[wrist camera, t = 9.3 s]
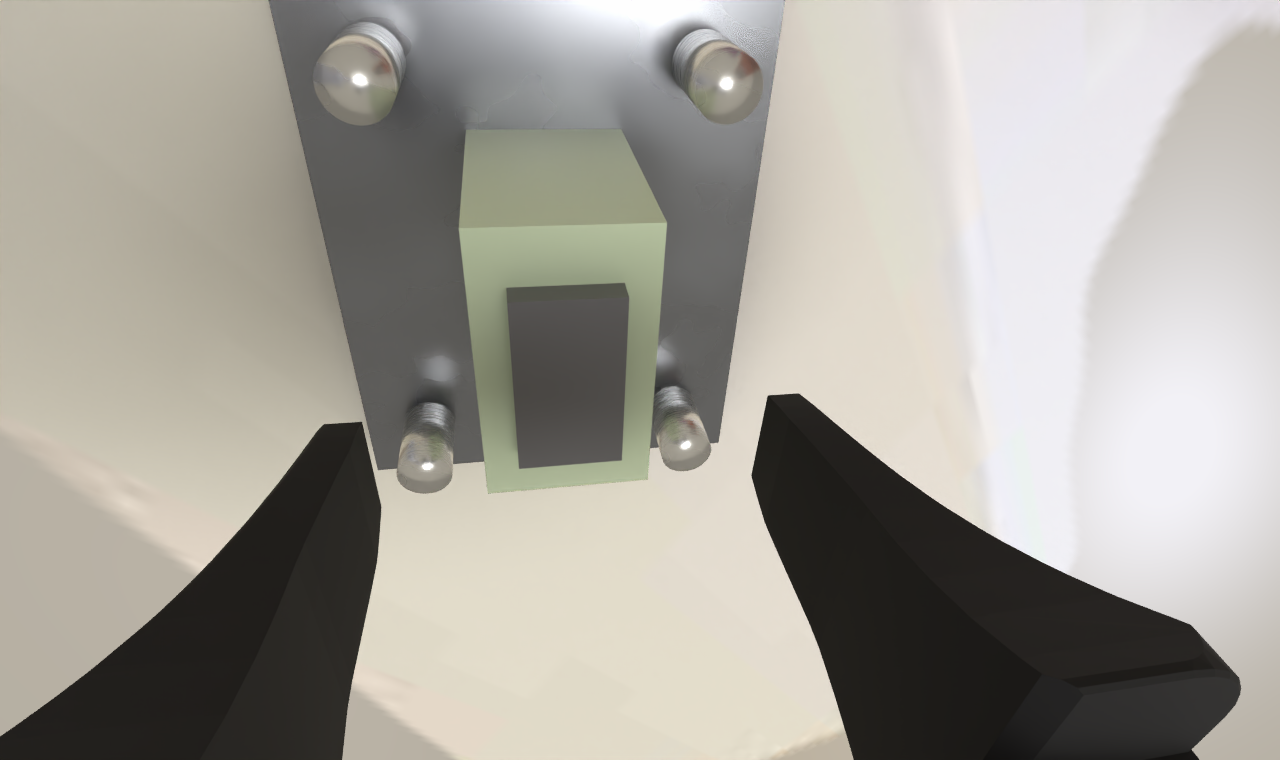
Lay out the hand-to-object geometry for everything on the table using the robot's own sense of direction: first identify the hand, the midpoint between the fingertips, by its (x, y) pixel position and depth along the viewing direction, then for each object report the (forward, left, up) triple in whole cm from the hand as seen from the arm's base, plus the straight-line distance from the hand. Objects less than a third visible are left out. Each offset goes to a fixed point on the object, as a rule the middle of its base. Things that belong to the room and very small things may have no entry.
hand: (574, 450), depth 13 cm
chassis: (0, -1, -10) cm, 10 cm away
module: (0, -1, -9) cm, 9 cm away
